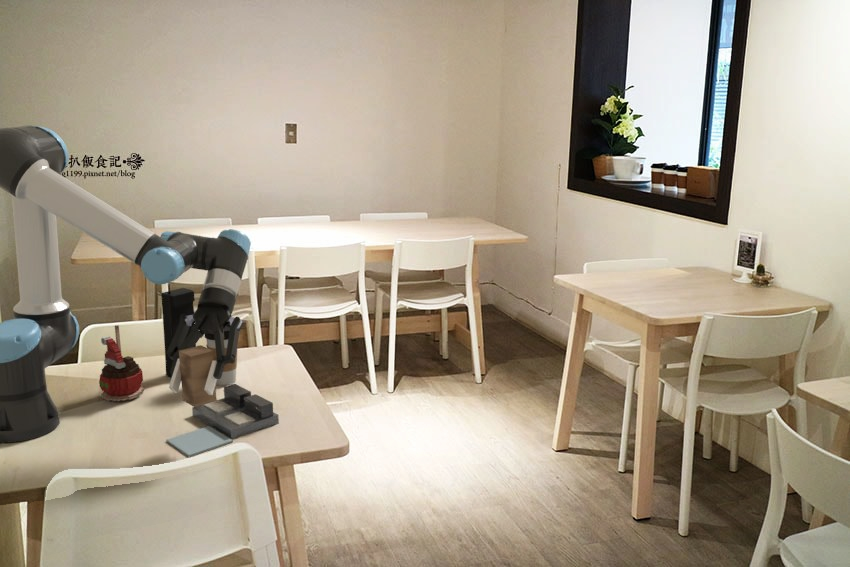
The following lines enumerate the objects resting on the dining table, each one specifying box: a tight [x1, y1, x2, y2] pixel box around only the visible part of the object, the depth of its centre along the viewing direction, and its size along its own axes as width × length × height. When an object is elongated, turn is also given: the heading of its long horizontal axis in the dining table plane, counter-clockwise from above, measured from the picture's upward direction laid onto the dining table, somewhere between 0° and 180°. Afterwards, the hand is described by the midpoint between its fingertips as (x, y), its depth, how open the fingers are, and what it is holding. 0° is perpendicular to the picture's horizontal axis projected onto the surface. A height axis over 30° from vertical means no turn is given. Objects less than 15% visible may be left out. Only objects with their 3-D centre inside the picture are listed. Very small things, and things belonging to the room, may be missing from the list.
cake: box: [98, 324, 145, 402], centre depth 185 cm, size 11×9×18 cm
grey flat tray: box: [191, 383, 280, 440], centre depth 174 cm, size 17×12×5 cm
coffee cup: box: [203, 323, 239, 386], centre depth 195 cm, size 8×8×15 cm
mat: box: [166, 425, 234, 458], centre depth 163 cm, size 10×10×1 cm
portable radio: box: [160, 284, 197, 379], centre depth 199 cm, size 8×6×25 cm
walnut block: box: [179, 345, 218, 407], centre depth 159 cm, size 5×5×11 cm
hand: (190, 391), depth 156 cm, fingers closed on walnut block, 7 cm apart
